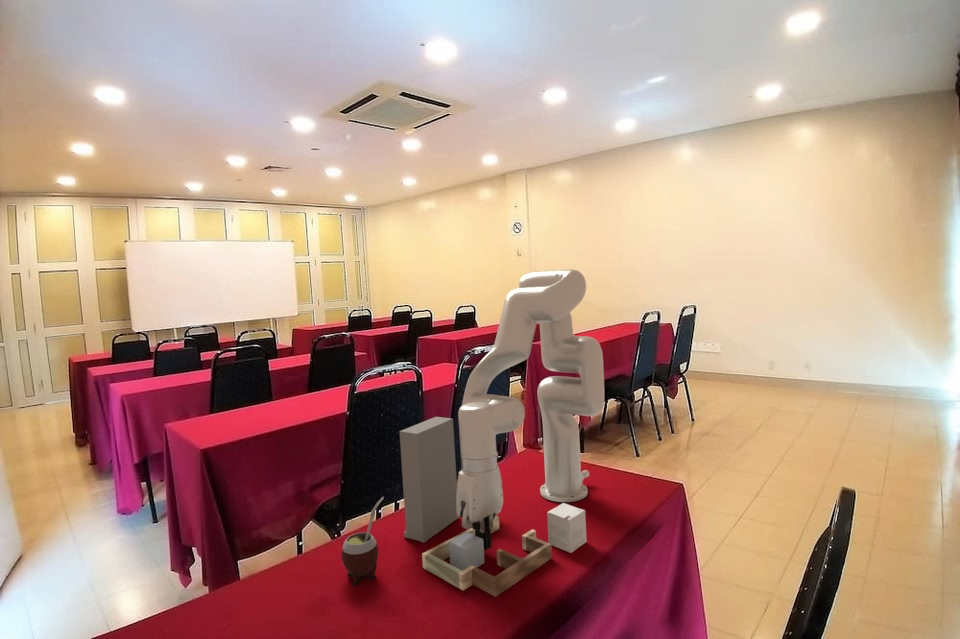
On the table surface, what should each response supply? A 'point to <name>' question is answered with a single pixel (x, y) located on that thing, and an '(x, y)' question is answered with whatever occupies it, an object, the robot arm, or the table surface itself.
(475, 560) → the block
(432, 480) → the tall upright grey box
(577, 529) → the skincare box
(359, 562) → the mate gourd
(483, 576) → the box
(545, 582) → the table surface
